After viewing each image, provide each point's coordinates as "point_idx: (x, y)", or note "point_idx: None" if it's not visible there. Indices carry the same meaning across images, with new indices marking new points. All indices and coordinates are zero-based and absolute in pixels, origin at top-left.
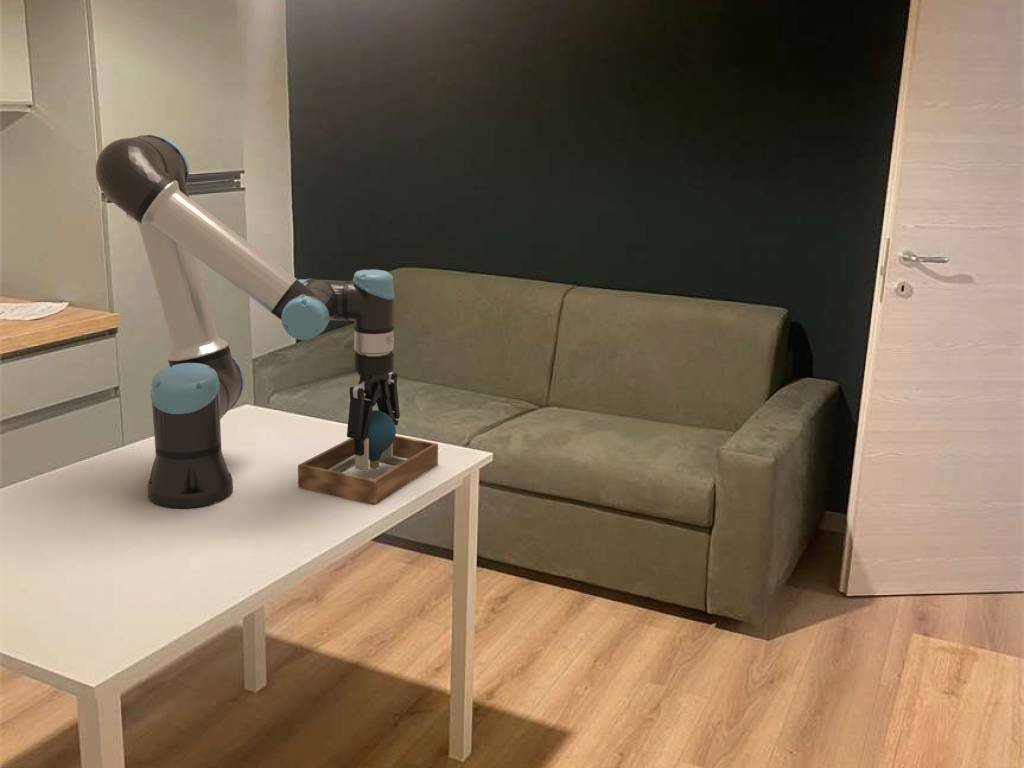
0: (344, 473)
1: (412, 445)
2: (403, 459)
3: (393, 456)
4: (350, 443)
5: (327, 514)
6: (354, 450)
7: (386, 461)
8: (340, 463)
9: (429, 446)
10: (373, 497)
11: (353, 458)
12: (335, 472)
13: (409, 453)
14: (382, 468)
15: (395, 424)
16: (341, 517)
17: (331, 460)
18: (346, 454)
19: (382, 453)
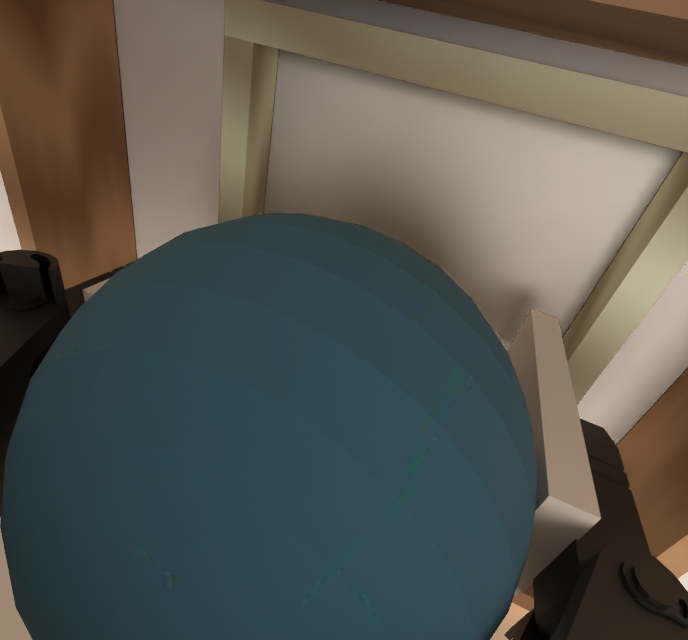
0: (31, 236)
1: (653, 515)
2: None
3: (582, 374)
4: (656, 23)
5: (4, 197)
6: (129, 263)
7: (579, 317)
8: (385, 47)
9: (529, 597)
10: None
11: (520, 109)
12: (10, 186)
13: (650, 454)
14: (484, 302)
15: (510, 630)
16: (19, 248)
17: None
18: (555, 24)
19: (519, 337)
